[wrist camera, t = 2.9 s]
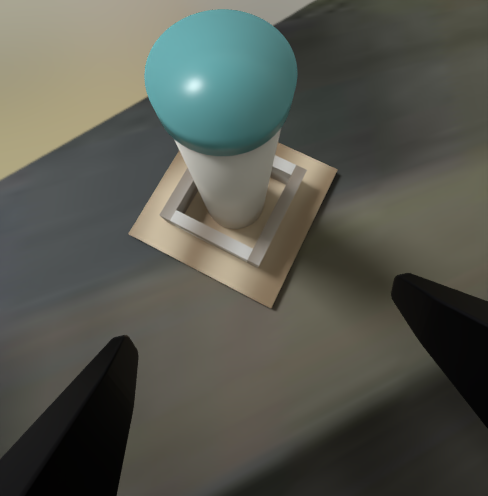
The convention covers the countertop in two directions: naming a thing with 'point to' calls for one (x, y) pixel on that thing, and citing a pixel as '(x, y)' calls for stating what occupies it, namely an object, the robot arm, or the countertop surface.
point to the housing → (238, 240)
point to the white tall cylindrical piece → (224, 105)
